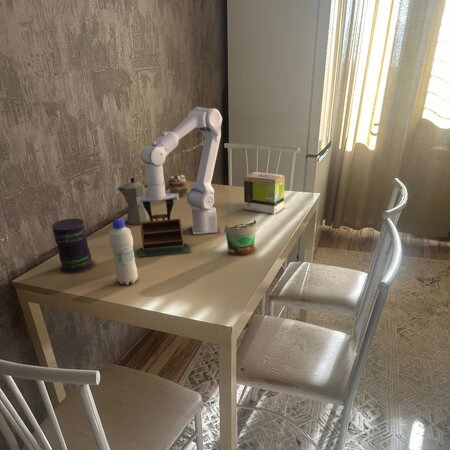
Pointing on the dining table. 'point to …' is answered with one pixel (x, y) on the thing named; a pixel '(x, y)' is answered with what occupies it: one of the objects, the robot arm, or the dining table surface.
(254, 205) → the tea box
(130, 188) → the coffeepot
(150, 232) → the drawer
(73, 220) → the storage jar
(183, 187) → the cupcake
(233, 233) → the food container
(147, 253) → the flat teal board
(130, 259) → the bottle
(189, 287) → the dining table surface
